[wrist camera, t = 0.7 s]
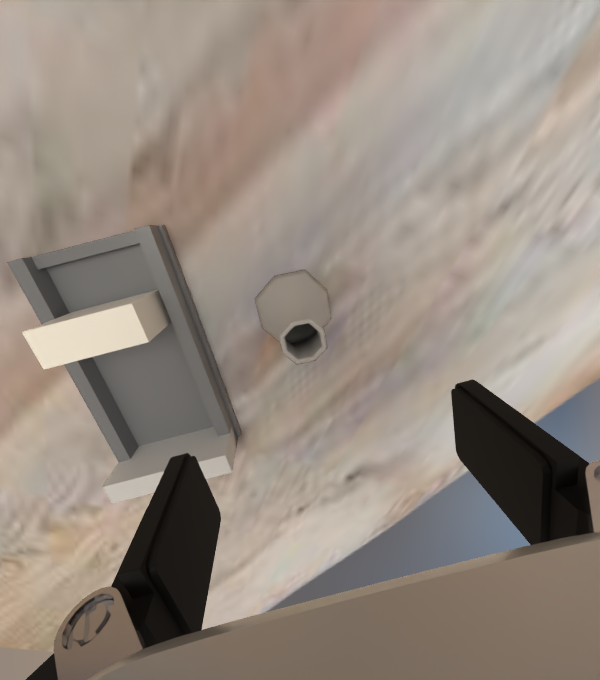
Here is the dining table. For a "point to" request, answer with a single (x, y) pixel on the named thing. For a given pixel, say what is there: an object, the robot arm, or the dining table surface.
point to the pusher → (99, 329)
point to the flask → (295, 314)
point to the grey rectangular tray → (139, 359)
